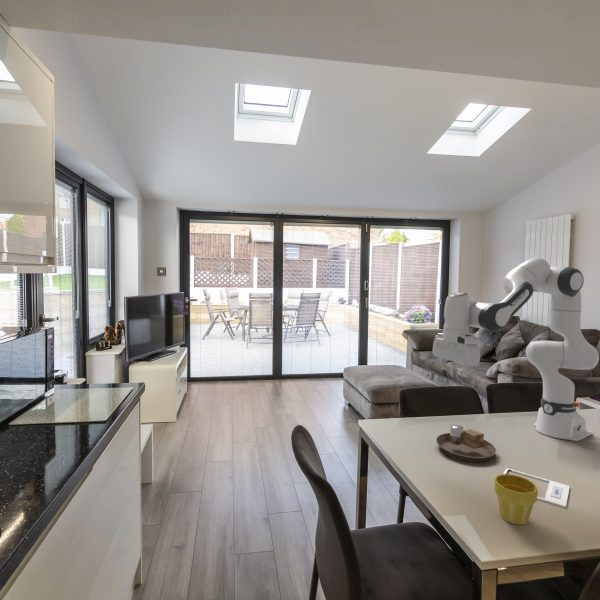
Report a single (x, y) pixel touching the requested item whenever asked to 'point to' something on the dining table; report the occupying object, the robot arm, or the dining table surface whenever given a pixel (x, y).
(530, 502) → the plant pot
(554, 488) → the photo frame
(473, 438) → the walnut block
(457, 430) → the grey metal peg
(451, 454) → the plant saucer
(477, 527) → the dining table surface
